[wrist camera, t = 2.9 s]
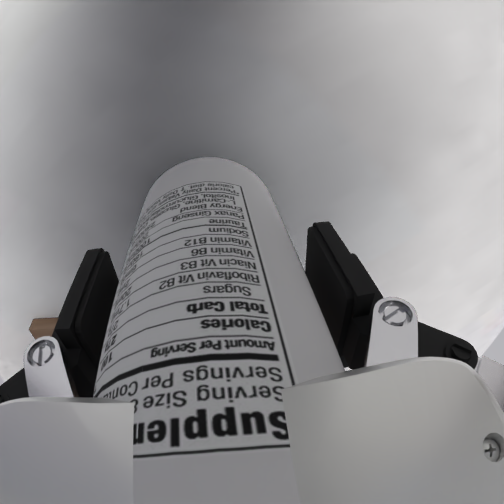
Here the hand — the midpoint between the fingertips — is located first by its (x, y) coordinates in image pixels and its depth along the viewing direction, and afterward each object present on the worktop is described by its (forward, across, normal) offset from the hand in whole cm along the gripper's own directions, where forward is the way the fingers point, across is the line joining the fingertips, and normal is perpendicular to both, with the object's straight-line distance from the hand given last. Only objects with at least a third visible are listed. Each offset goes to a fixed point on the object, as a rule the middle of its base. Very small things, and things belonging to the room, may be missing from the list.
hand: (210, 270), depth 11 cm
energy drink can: (+5, 0, 0) cm, 5 cm away
